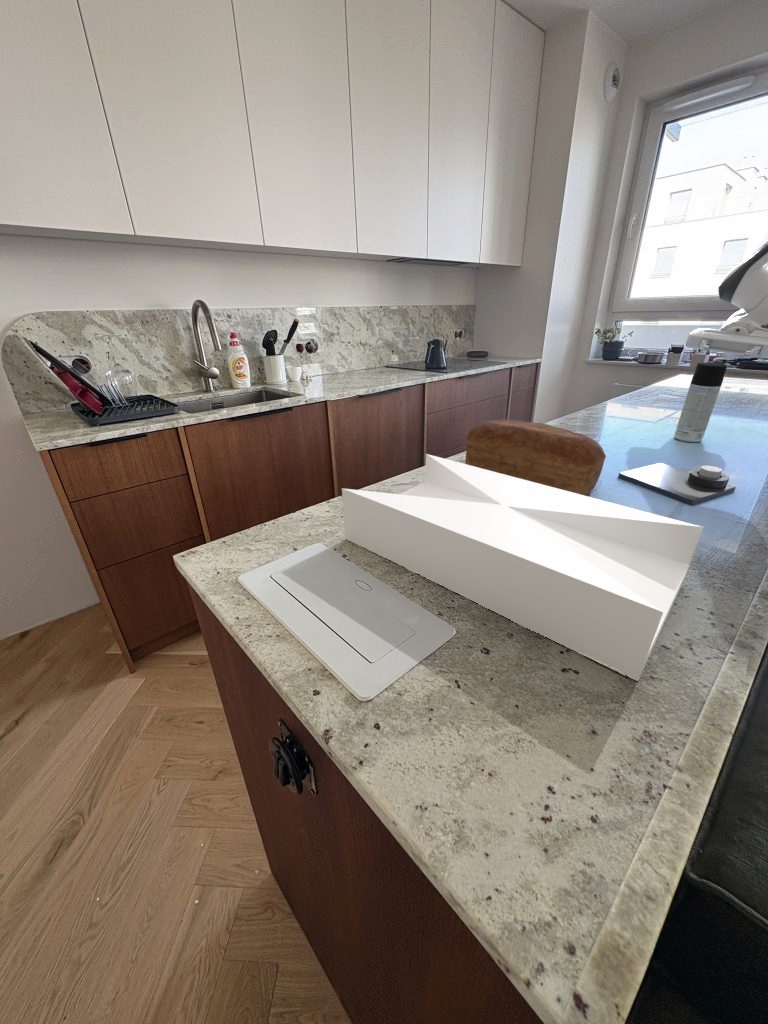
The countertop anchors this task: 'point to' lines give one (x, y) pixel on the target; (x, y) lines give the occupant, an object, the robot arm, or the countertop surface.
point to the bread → (536, 454)
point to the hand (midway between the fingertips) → (725, 352)
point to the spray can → (700, 402)
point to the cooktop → (678, 483)
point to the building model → (535, 555)
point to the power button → (710, 472)
